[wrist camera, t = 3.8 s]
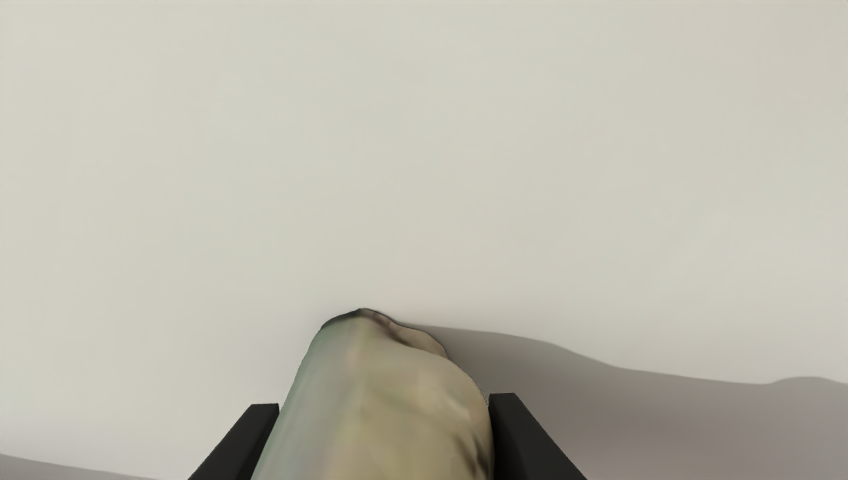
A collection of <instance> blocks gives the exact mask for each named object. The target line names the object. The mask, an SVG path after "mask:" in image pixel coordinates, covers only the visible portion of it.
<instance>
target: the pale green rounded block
mask: <svg viewBox="0 0 848 480" xmlns="http://www.w3.org/2000/svg"><path fill="white" fill-rule="evenodd" d="M494 464H495V449H494V438H493V431H492V427H491V420H490V415H489V411H488V407H487V404H486V402H485V399H484V397H483V395H482V393H481V391H480V390H479V388H478V387H477V386H476V384H475V383H474V381H473V380H472V379H471V378H470V376H469V375H467V374H466V373H464V372H463V371H462V370H461V369H460V368H459V367H458V366H457V365H455V364H454V363H453V362H451V361H450V360H449V358H448V356H447V354H446V352H445V349H444V347H443V346H441V345H440V344H439V343H438V342H437V341H436V340H434V339H433V338H432V337H431V336H430V335H429V334H428V333H426V332H422V331H419V330H414V329H410V328H406V327H402V326H398V325H397V324H395V323H393V322H392V321H391V320H390V319H388V318H386V317H385V316H383V315H381V314H379V313H377V312H374V311H370V310H366V309H358V310H356V311H354V312H353V311H352V312H349V313H347V314H343V315H339V316H337V317H335V318H332V319H330V320H329V321H327V322H326V323H325V324H324V325H323V326H322V327H321V330H320V331H319V332H318V333H317V334H316V336H315V337H314V339H313V340H312V342H311V344H310V346H309V349H308V352H307V354H306V356H305V357H304V359H303V360H302V362H301V365H300V367H299V369H298V372H297V374H296V377H295V380H294V383H293V385H292V387H291V389H290V391H289V394H288V396H287V398H286V401H285V403H284V405H283V407H282V409H281V411H280V414H279V416H278V418H277V421H276V423H275V425H274V427H273V429H272V432H271V434H270V436H269V438H268V440H267V442H266V444H265V447H264V449H263V452H262V454H261V456H260V459H259V461H258V463H257V466H256V468H255V470H254V473H253V475H252V477H251V480H494Z"/></svg>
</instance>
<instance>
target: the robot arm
mask: <svg viewBox="0 0 848 480" xmlns="http://www.w3.org/2000/svg"><path fill="white" fill-rule="evenodd" d="M488 411H489V415H490V420H491V427H492V431H493V438H494V449H495V464H494V480H587V479H586V478H585V477H584V476H583V474H582V473H581V472H580V471H579V470H578V469H577V468H576V467H575V465H574V464H573V463H572V462H571V461H570V460H569V459H568V457H567V456H566V455H565V454H564V453H563V452H562V451H561V450H560V448H559V447H558V446H557V445H556V444H555V442H554V441H553V440H552V439H551V438H550V436H549V435H548V434H547V433H546V432H545V430H544V429H543V428H542V427H541V426H540V424H539V423H538V422H537V421H536V419H535V418H534V417H533V416H532V414H531V413H530V412H529V411H528V409H527V408H526V407H525V405H524V404H523V403H522V402H521V400H520V399H519V398H518V397H517V396H516V395H515V394H514V393H499V394H490V396H489V406H488ZM279 414H280V412H279V405H278V403H273V404H252V405H251V406H250V407H249V408H248V409H247V410H246V411H245V412H244V413H243V415H242V416H241V417H240V418H239V420H238V421H237V422H236V423H235V425H234V426H233V427H232V428H231V429H230V431H229V432H228V433H227V434H226V435H225V437H224V438H223V439H222V440H221V442H220V443H219V444H218V445H217V446H216V447H215V449H214V450H213V451H212V452H211V453H210V455H209V456H208V457H207V458H206V459H205V461H204V462H203V463H202V464H201V465H200V466H199V467H198V469H197V470H196V471H195V472H194V473H193V474H192V475H191V477H190V478H189V479H188V480H251V477H252V475H253V473H254V470H255V468H256V466H257V463H258V461H259V459H260V456H261V454H262V452H263V449H264V447H265V444H266V442H267V440H268V438H269V436H270V434H271V432H272V429H273V427H274V425H275V423H276V421H277V418H278V416H279Z"/></svg>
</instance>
